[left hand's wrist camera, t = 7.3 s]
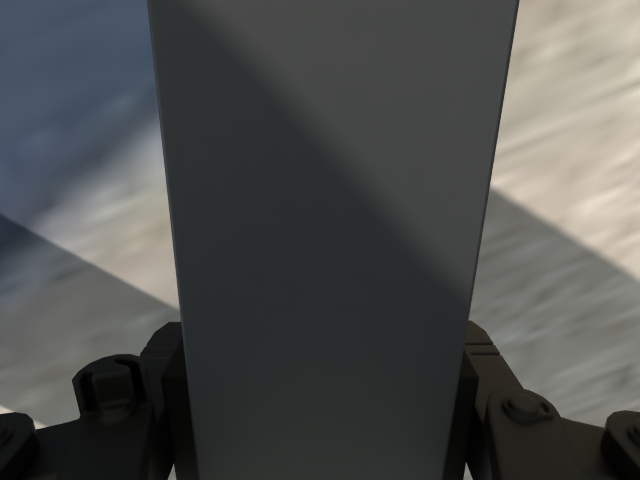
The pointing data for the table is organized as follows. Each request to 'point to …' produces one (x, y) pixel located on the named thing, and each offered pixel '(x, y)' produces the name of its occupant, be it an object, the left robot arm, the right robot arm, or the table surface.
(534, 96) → the table surface
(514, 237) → the table surface
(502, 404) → the left robot arm
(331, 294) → the beam
